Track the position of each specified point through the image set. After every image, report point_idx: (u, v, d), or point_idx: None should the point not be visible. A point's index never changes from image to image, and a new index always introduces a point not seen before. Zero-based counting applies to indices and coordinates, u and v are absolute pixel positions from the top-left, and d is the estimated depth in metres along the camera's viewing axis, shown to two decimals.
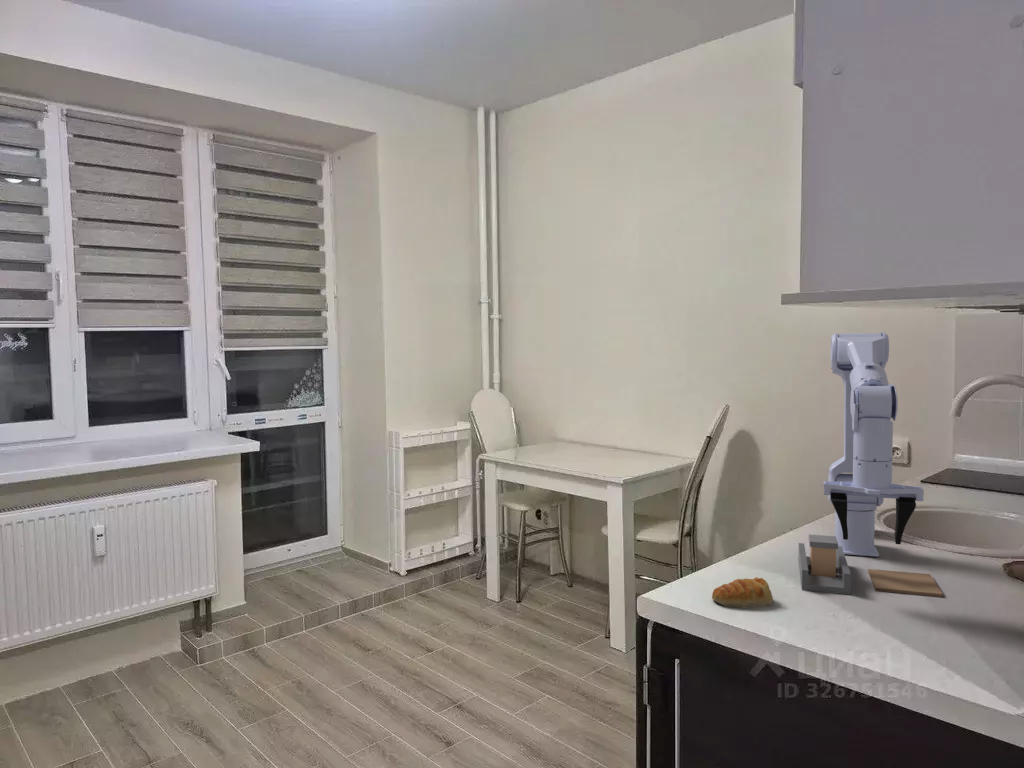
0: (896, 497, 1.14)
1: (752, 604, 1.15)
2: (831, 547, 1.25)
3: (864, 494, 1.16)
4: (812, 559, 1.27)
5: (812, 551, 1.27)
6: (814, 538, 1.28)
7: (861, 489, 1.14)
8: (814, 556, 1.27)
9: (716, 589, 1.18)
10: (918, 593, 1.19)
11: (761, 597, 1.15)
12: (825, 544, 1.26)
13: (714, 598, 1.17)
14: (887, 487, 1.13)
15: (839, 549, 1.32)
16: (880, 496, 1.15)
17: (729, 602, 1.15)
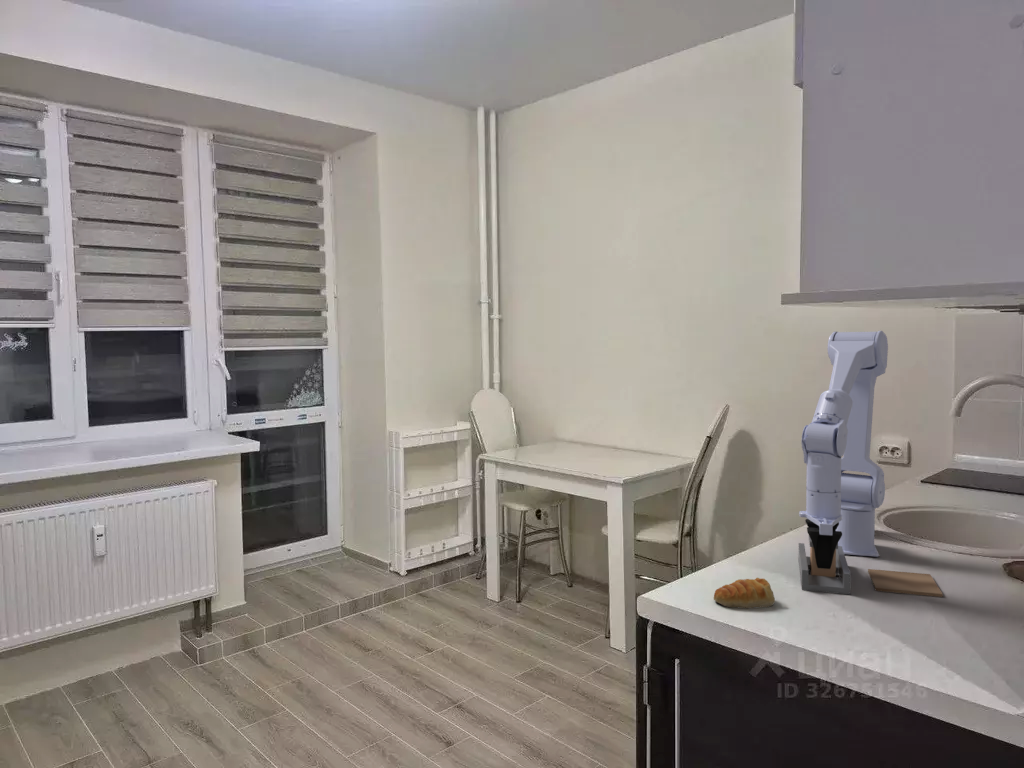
0: None
1: (754, 605, 1.15)
2: None
3: None
4: (812, 559, 1.27)
5: (812, 551, 1.27)
6: None
7: None
8: (814, 556, 1.27)
9: (718, 590, 1.18)
10: (918, 593, 1.19)
11: (763, 597, 1.15)
12: None
13: (716, 599, 1.16)
14: (812, 514, 1.26)
15: (839, 549, 1.32)
16: None
17: (731, 602, 1.15)
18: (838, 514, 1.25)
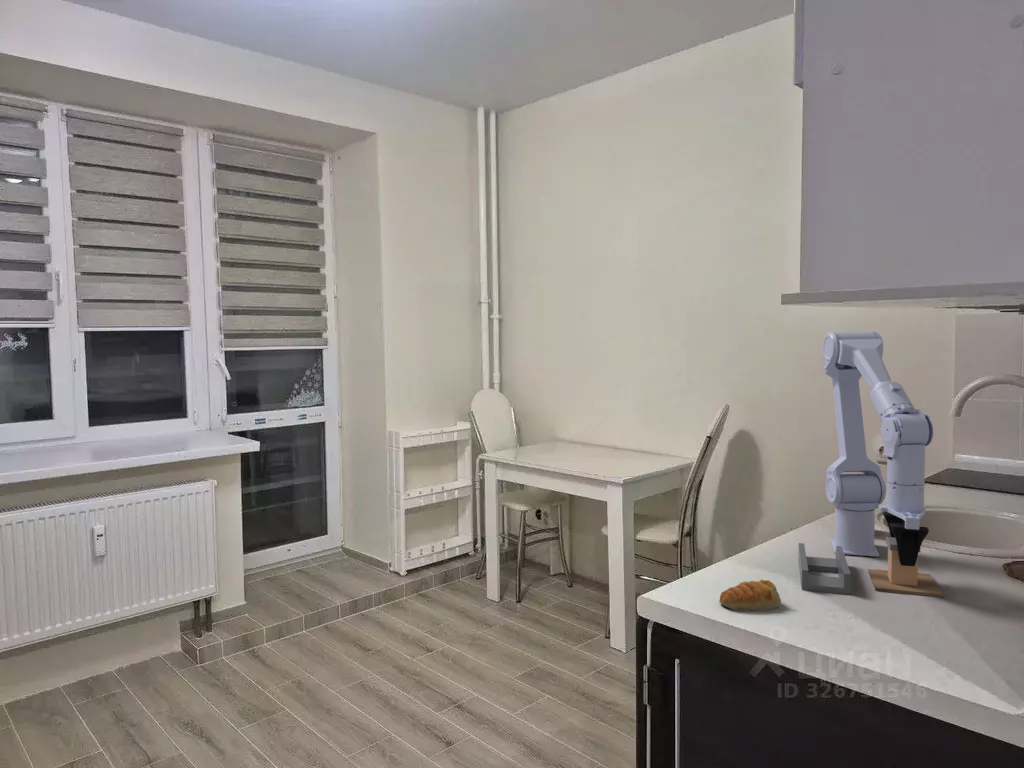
0: None
1: (760, 607, 1.14)
2: None
3: None
4: (892, 563, 1.22)
5: (892, 554, 1.22)
6: (893, 541, 1.24)
7: None
8: (894, 559, 1.22)
9: (723, 593, 1.16)
10: (918, 593, 1.19)
11: (770, 599, 1.14)
12: None
13: (722, 602, 1.15)
14: (894, 508, 1.22)
15: (839, 549, 1.32)
16: None
17: (738, 605, 1.14)
18: (922, 508, 1.21)
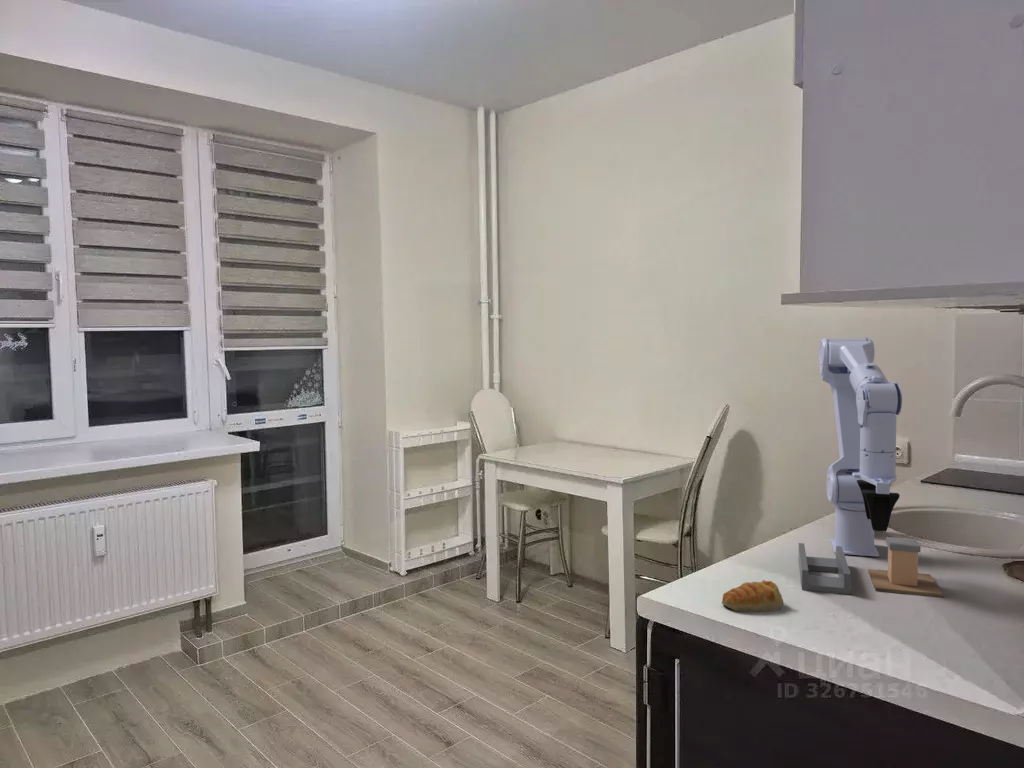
0: None
1: (763, 608, 1.13)
2: (913, 550, 1.21)
3: None
4: (892, 563, 1.22)
5: (892, 554, 1.22)
6: (893, 541, 1.24)
7: (859, 473, 1.29)
8: (894, 559, 1.22)
9: (726, 594, 1.16)
10: (918, 593, 1.19)
11: (772, 600, 1.13)
12: (906, 547, 1.21)
13: (725, 603, 1.14)
14: (866, 475, 1.25)
15: (839, 549, 1.32)
16: None
17: (741, 606, 1.13)
18: (893, 474, 1.24)
